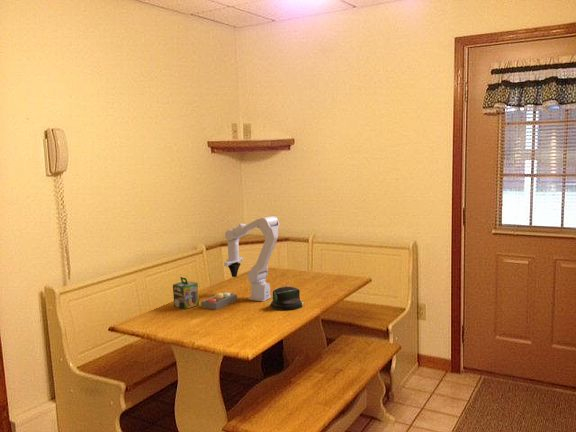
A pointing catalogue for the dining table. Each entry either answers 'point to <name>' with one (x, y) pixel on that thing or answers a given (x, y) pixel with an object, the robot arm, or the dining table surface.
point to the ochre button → (219, 296)
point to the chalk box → (185, 294)
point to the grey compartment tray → (219, 302)
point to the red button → (212, 300)
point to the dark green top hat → (286, 299)
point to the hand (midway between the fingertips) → (234, 276)
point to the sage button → (226, 294)
